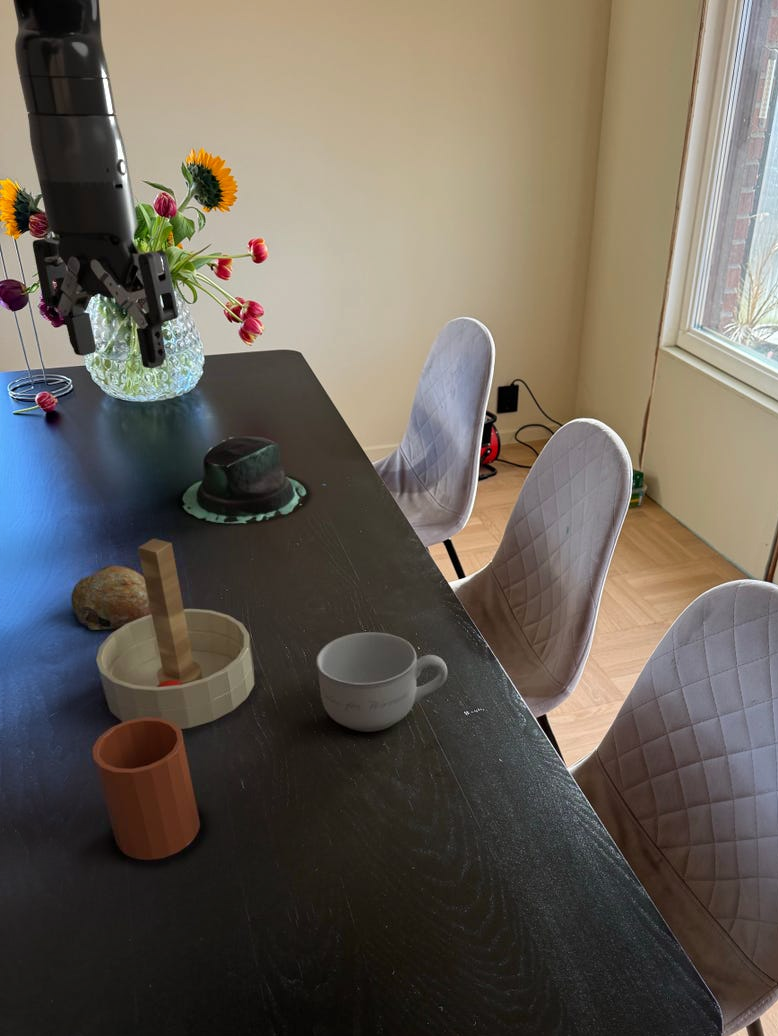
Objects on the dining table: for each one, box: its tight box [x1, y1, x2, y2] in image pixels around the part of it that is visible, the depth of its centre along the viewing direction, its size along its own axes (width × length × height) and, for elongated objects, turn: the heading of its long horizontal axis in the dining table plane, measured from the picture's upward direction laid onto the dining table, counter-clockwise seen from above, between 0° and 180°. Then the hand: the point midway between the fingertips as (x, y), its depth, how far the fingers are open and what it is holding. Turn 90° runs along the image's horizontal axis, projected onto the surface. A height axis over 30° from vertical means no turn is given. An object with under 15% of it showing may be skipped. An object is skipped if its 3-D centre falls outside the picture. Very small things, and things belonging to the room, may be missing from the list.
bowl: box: [95, 608, 255, 730], centre depth 100 cm, size 16×16×6 cm
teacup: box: [315, 631, 448, 733], centre depth 97 cm, size 14×11×8 cm
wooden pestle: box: [137, 538, 203, 684], centre depth 96 cm, size 5×5×18 cm
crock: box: [92, 717, 201, 861], centre depth 80 cm, size 7×7×11 cm
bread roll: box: [70, 565, 152, 631], centre depth 114 cm, size 10×10×8 cm
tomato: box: [157, 680, 182, 687], centre depth 97 cm, size 4×4×4 cm
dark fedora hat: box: [181, 436, 307, 524], centre depth 146 cm, size 15×19×20 cm
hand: (119, 359), depth 86 cm, fingers open, 8 cm apart
